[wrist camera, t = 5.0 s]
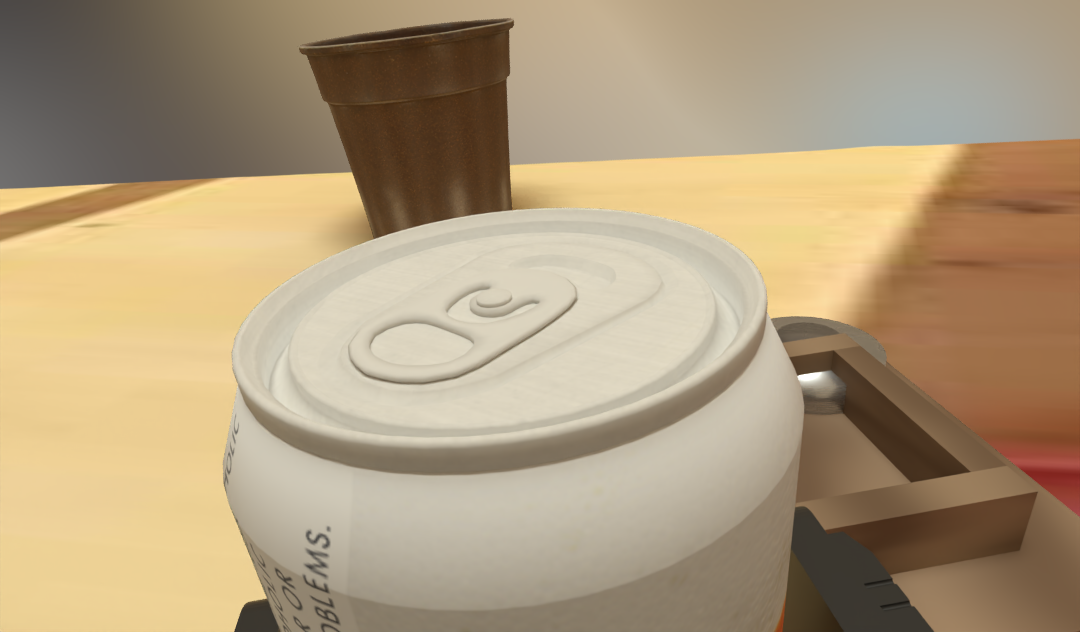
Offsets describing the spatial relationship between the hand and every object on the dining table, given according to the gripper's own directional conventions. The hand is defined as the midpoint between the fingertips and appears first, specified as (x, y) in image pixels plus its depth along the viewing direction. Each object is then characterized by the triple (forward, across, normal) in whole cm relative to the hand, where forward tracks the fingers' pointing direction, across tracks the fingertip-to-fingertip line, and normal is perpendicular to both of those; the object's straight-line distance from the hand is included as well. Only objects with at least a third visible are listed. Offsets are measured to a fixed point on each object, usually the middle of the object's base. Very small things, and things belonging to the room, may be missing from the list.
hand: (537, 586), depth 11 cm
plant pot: (+47, +3, +9) cm, 48 cm away
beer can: (-2, 0, +9) cm, 9 cm away
